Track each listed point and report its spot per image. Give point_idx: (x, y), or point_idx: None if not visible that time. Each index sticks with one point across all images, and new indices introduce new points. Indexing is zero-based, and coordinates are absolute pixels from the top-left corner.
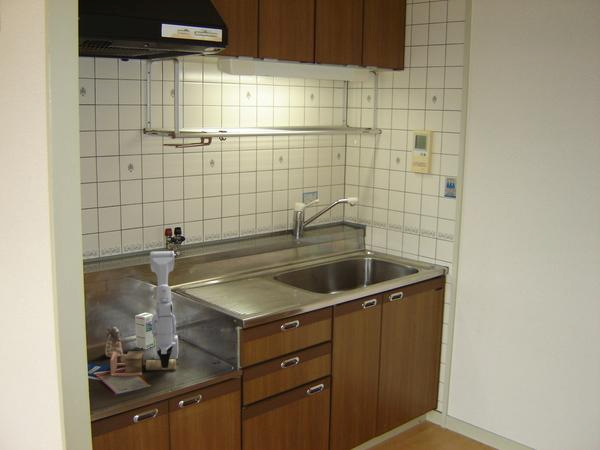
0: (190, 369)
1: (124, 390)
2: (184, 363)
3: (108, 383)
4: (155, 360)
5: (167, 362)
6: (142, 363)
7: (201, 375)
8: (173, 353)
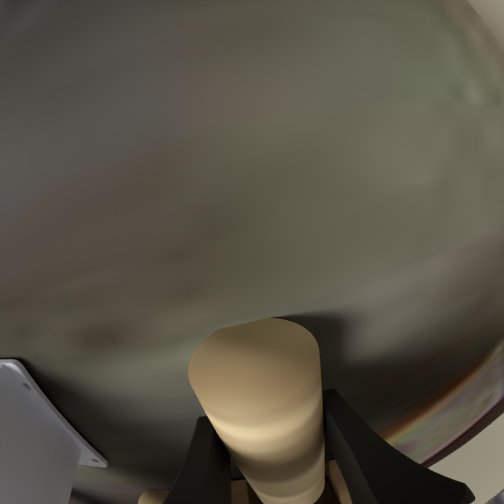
0: (253, 142)
1: (496, 394)
2: (69, 276)
3: (422, 461)
4: (297, 493)
5: (359, 430)
6: (248, 496)
7: (414, 14)
8: (10, 407)
